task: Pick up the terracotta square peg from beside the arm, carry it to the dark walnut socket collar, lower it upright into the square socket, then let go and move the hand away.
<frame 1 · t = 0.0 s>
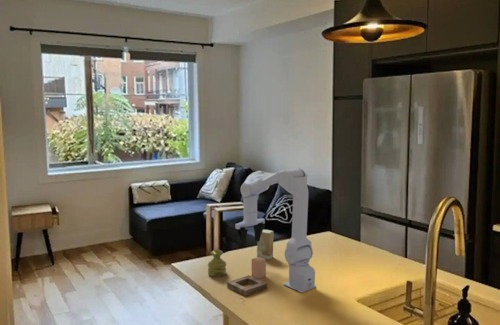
hand: (250, 242, 186), 10 cm above the kitchen island, tool pointing down, fingers open, 7 cm apart
olive green textured figure: (217, 274, 179), on the kitchen island
socket block: (247, 287, 164), on the kitchen island
peg: (258, 276, 176), on the kitchen island
skincare box: (265, 257, 198), on the kitchen island
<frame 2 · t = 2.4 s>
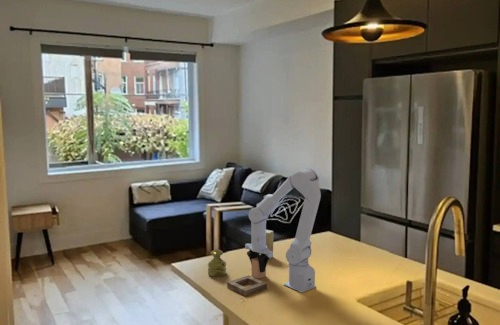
hand: (258, 270, 175), 2 cm above the kitchen island, tool pointing down, fingers closed on peg, 4 cm apart
peg: (258, 276, 176), on the kitchen island, touching gripper
everything else where it was.
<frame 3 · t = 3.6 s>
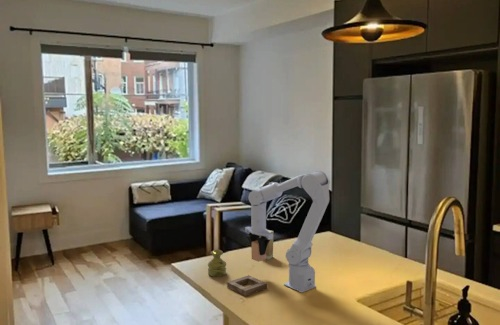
hand: (258, 253, 175), 9 cm above the kitchen island, tool pointing down, fingers closed on peg, 4 cm apart
peg: (258, 259, 175), point 7 cm above the kitchen island, touching gripper
everything else where it was.
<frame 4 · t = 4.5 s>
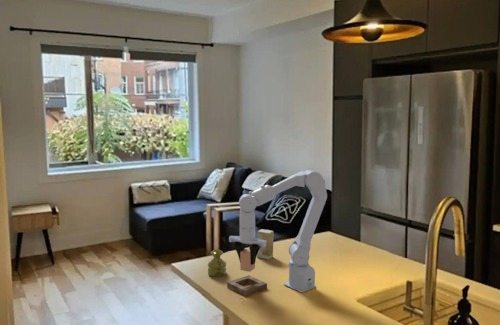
hand: (247, 262, 164), 9 cm above the kitchen island, tool pointing down, fingers closed on peg, 4 cm apart
peg: (247, 269, 164), point 7 cm above the kitchen island, touching gripper
everything else where it was.
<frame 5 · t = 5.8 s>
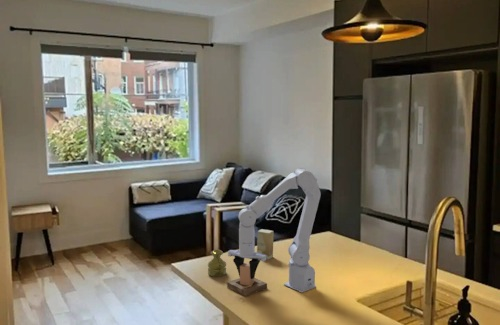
hand: (246, 277, 164), 4 cm above the kitchen island, tool pointing down, fingers closed on peg, 4 cm apart
peg: (247, 283, 164), point 2 cm above the kitchen island, touching gripper
everything else where it was.
when the fingers open (3 cm above the kitchen island, at t = 7.0 s): peg stays where it is, resting in socket block.
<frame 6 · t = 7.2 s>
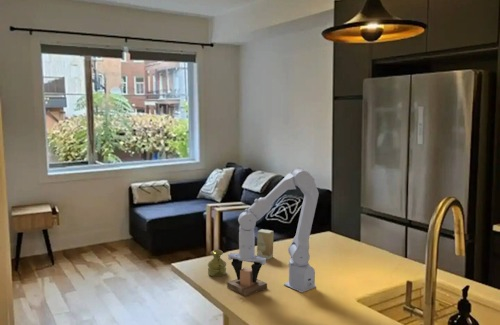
hand: (247, 280, 164), 3 cm above the kitchen island, tool pointing down, fingers open, 6 cm apart
peg: (247, 287, 164), resting in socket block
everything else where it was.
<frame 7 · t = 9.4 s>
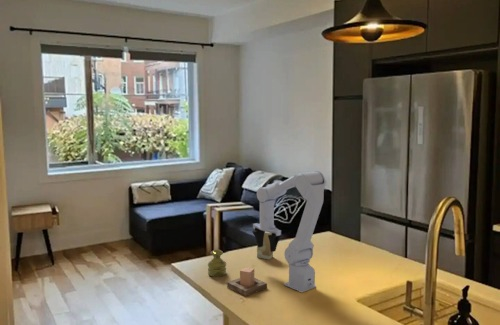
hand: (266, 249, 179), 9 cm above the kitchen island, tool pointing down, fingers open, 7 cm apart
nothing on the kitchen island moved.
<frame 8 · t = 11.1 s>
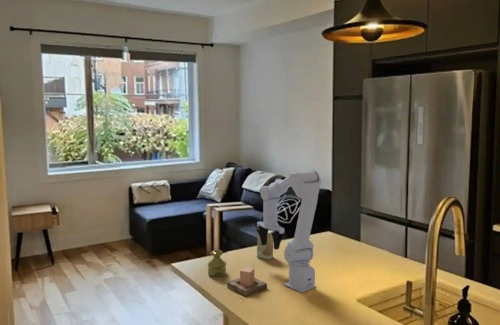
hand: (270, 246, 183), 9 cm above the kitchen island, tool pointing down, fingers open, 7 cm apart
nothing on the kitchen island moved.
at the end: peg 0.1 cm off-centre on the socket block, point 0.0 cm above the socket block's base; peg tilted 0°; the gripper is holding nothing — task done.
